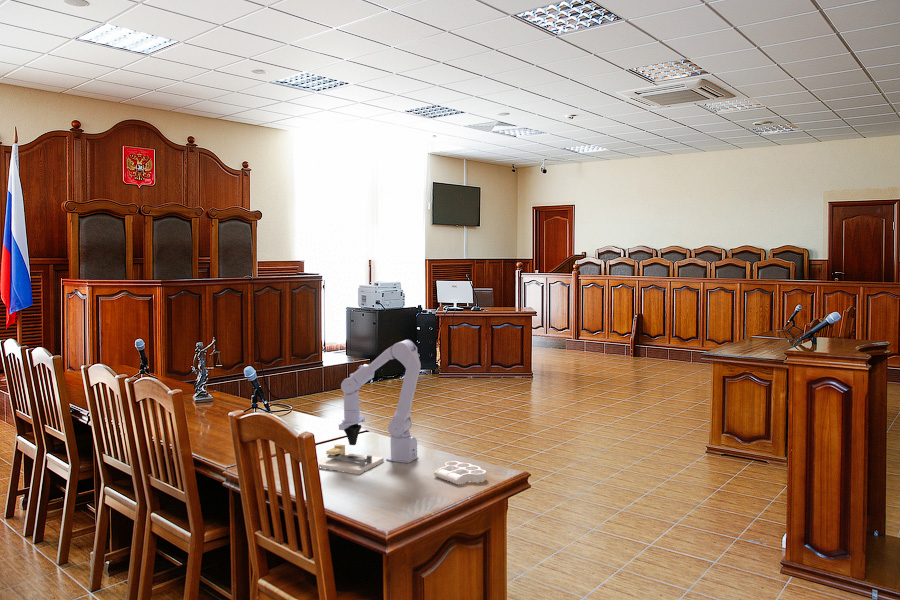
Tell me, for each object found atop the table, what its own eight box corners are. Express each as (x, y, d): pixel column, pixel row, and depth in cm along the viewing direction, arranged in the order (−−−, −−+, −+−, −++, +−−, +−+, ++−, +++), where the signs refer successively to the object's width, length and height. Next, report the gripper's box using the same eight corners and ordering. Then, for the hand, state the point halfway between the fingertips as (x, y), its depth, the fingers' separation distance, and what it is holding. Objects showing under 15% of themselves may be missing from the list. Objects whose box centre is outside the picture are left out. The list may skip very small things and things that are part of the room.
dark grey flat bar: (369, 461, 234) (369, 457, 234) (365, 463, 231) (365, 459, 231) (332, 456, 241) (332, 452, 241) (327, 458, 238) (327, 454, 238)
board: (383, 461, 241) (383, 451, 241) (359, 474, 226) (359, 462, 226) (338, 455, 249) (338, 445, 249) (312, 467, 235) (312, 456, 235)
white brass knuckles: (428, 476, 225) (460, 467, 234) (463, 489, 211) (495, 479, 221) (428, 466, 224) (459, 458, 234) (463, 479, 211) (495, 469, 220)
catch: (345, 456, 243) (344, 445, 242) (334, 460, 237) (334, 449, 236) (337, 454, 244) (336, 444, 244) (326, 459, 238) (326, 448, 238)
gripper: (353, 404, 256) (354, 439, 257) (331, 412, 243) (332, 448, 244) (369, 405, 253) (369, 440, 254) (347, 413, 240) (348, 450, 241)
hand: (352, 444), depth 248 cm, fingers closed
